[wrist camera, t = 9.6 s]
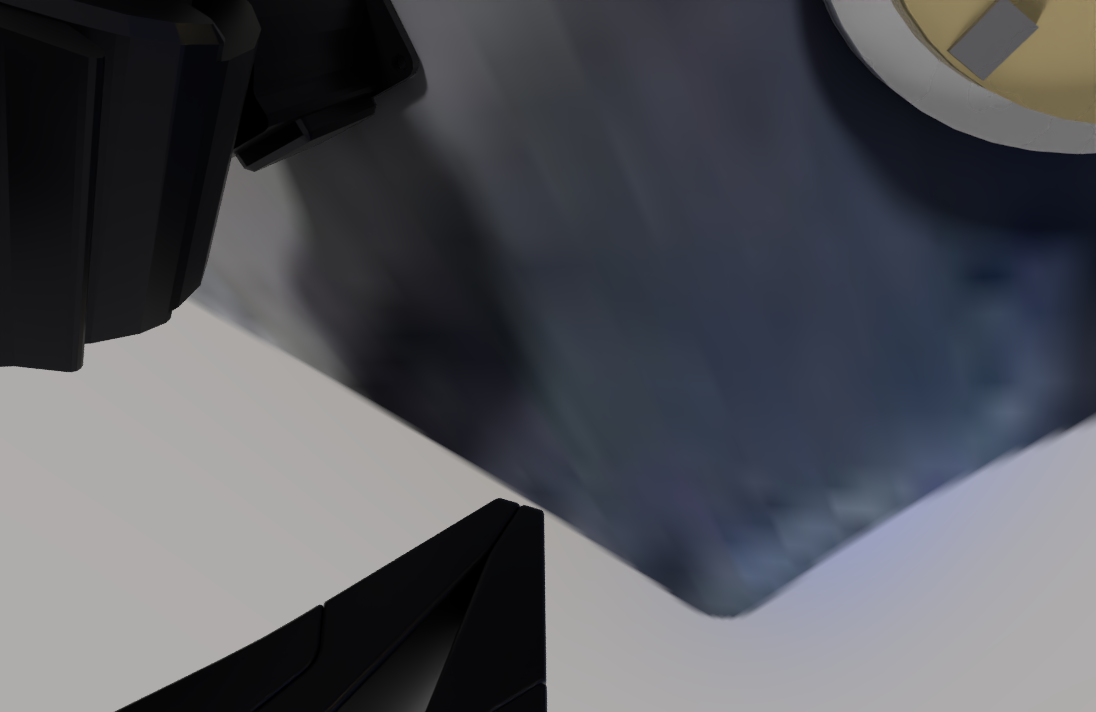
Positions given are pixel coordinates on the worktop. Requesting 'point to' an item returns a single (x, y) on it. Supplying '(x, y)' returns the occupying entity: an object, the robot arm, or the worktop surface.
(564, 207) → the worktop surface
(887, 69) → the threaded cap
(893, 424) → the worktop surface
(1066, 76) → the gold dial with handle
